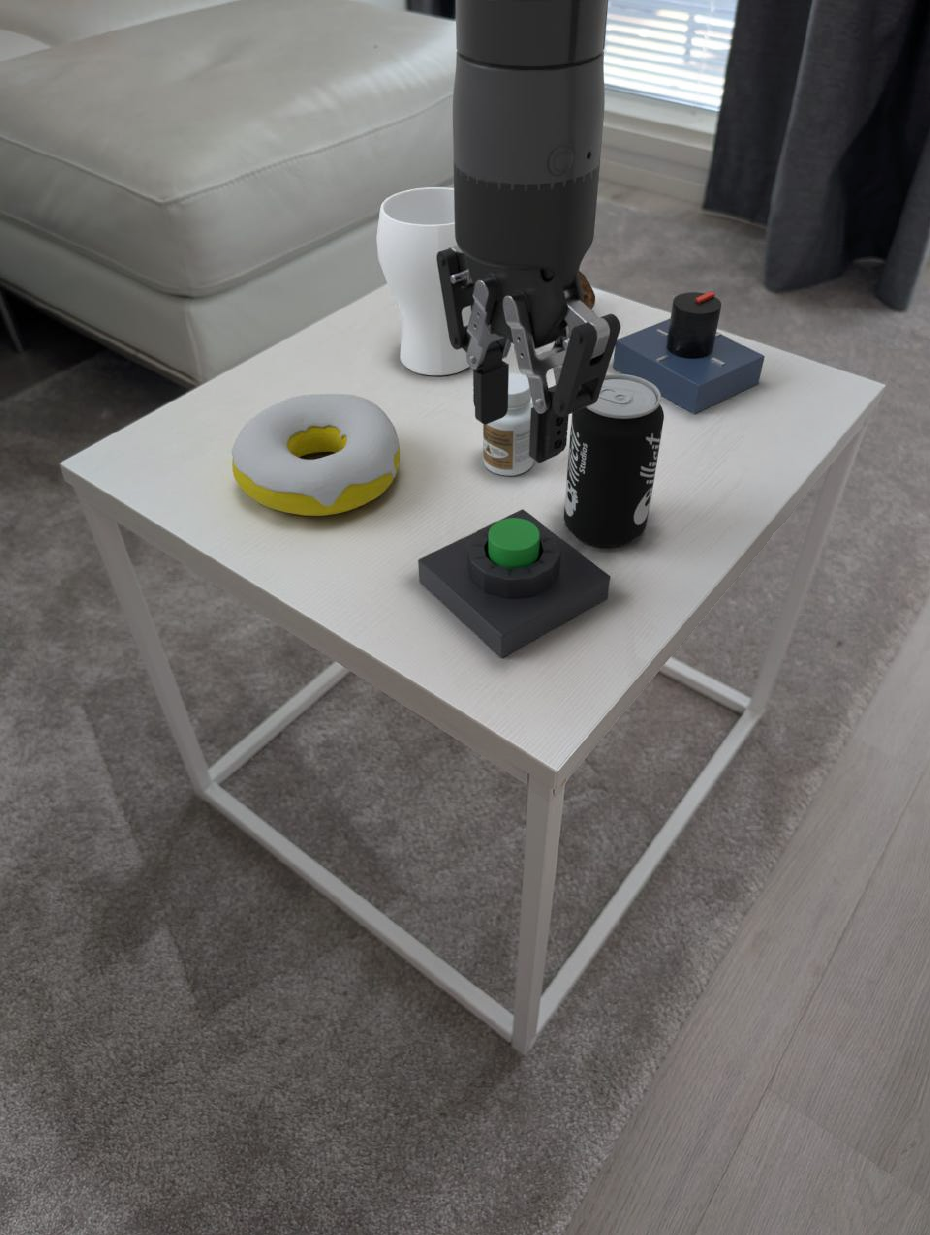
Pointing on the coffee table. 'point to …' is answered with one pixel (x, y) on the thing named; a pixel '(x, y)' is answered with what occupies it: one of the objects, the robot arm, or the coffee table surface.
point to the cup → (420, 275)
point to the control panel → (688, 367)
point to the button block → (513, 587)
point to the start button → (514, 543)
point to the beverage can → (613, 462)
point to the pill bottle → (510, 432)
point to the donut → (311, 427)
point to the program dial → (693, 324)
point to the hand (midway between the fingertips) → (517, 435)
